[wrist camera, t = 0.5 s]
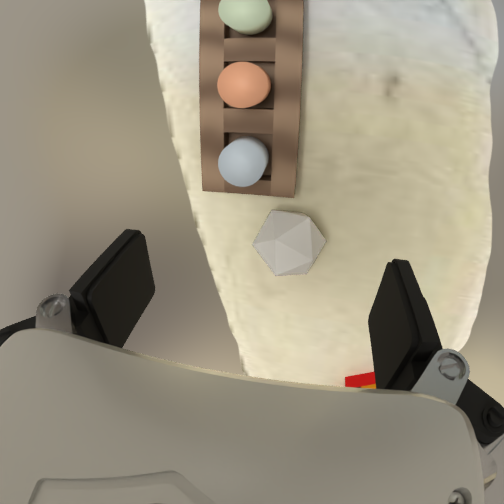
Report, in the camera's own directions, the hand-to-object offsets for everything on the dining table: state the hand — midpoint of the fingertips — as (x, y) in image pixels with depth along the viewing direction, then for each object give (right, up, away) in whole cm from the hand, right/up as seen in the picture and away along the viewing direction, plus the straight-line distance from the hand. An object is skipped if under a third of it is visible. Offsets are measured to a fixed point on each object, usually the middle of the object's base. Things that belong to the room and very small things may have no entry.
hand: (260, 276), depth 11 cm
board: (0, +22, +22) cm, 31 cm away
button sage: (-1, +28, +15) cm, 32 cm away
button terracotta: (-1, +20, +20) cm, 28 cm away
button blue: (-1, +13, +24) cm, 27 cm away
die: (+5, +4, +32) cm, 33 cm away
